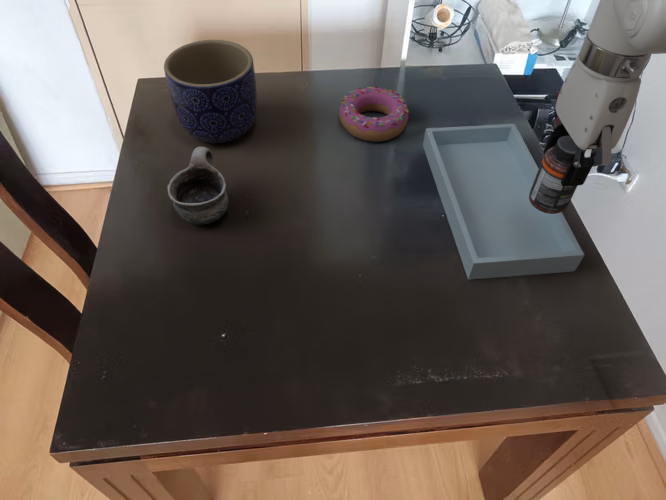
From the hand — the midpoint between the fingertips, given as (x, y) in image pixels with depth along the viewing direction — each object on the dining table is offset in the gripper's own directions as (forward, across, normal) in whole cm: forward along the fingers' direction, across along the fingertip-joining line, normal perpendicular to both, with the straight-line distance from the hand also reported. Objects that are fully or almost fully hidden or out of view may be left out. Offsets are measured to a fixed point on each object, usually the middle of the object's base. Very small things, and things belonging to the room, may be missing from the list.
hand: (562, 167), depth 78 cm
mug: (+18, +14, +55) cm, 60 cm away
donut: (+18, +36, +21) cm, 45 cm away
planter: (+18, +38, +53) cm, 67 cm away
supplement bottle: (+7, 0, 0) cm, 7 cm away
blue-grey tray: (+18, +11, +3) cm, 21 cm away
